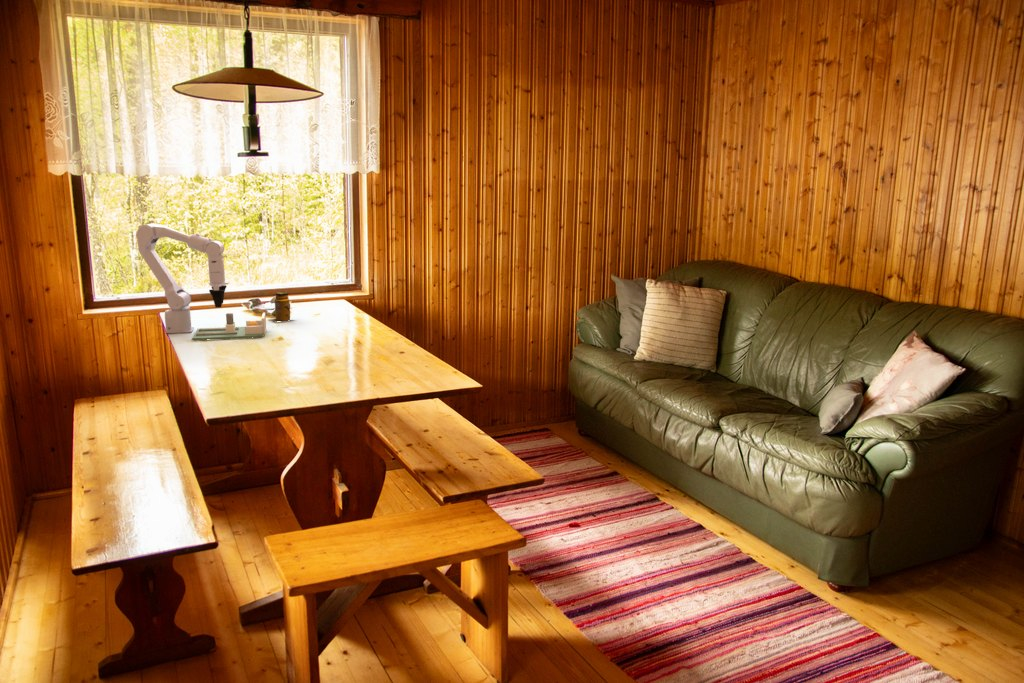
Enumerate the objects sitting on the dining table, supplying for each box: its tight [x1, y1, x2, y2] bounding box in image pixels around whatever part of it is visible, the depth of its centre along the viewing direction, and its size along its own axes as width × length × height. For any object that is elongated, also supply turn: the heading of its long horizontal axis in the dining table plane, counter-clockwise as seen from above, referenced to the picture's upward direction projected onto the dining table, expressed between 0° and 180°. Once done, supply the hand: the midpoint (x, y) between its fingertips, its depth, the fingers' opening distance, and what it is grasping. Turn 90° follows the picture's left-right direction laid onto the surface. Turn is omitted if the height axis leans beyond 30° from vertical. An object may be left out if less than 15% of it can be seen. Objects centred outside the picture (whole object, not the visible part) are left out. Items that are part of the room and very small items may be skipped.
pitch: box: [191, 326, 265, 341], centre depth 321 cm, size 26×18×2 cm
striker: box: [225, 312, 236, 332], centre depth 321 cm, size 3×6×7 cm, turn 15°
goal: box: [244, 312, 267, 335], centre depth 323 cm, size 8×12×6 cm, turn 15°
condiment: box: [268, 291, 291, 323], centre depth 348 cm, size 7×8×12 cm
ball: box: [248, 320, 258, 326], centre depth 323 cm, size 4×4×4 cm
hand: (219, 305), depth 325 cm, fingers open, 7 cm apart
